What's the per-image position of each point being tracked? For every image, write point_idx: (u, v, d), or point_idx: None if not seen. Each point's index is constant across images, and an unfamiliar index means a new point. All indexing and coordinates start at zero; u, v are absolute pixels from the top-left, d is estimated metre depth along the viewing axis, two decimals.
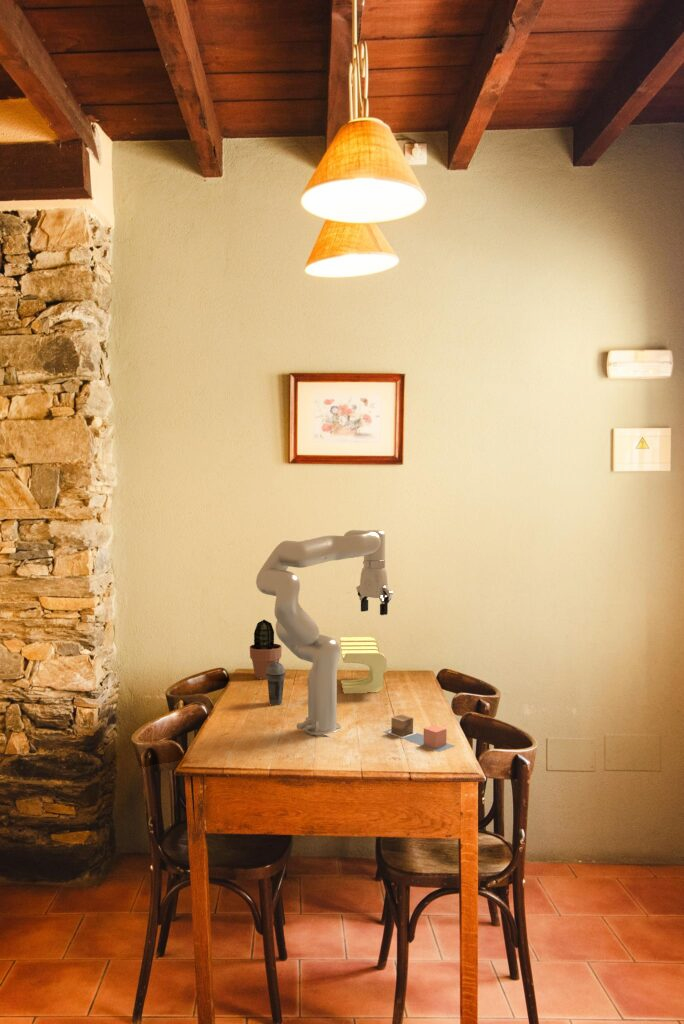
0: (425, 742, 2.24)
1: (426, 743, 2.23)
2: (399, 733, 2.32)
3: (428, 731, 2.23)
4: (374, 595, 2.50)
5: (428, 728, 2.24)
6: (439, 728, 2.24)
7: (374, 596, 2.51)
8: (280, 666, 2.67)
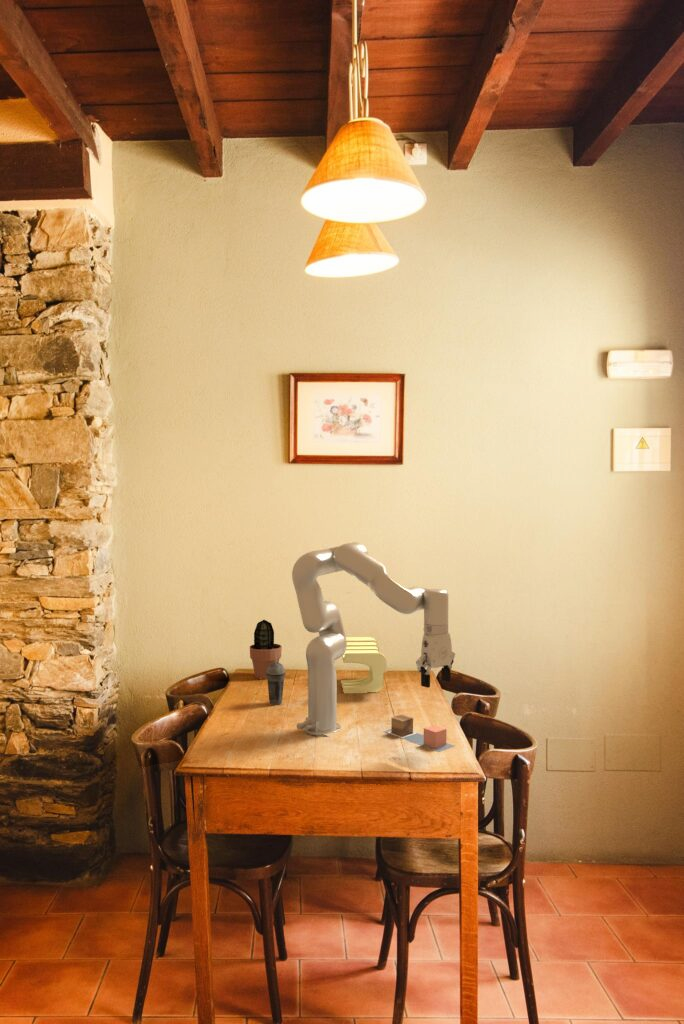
0: (425, 742, 2.24)
1: (426, 743, 2.23)
2: (399, 733, 2.32)
3: (428, 731, 2.23)
4: (449, 662, 2.23)
5: (428, 728, 2.24)
6: (439, 728, 2.24)
7: (448, 663, 2.23)
8: (280, 666, 2.67)
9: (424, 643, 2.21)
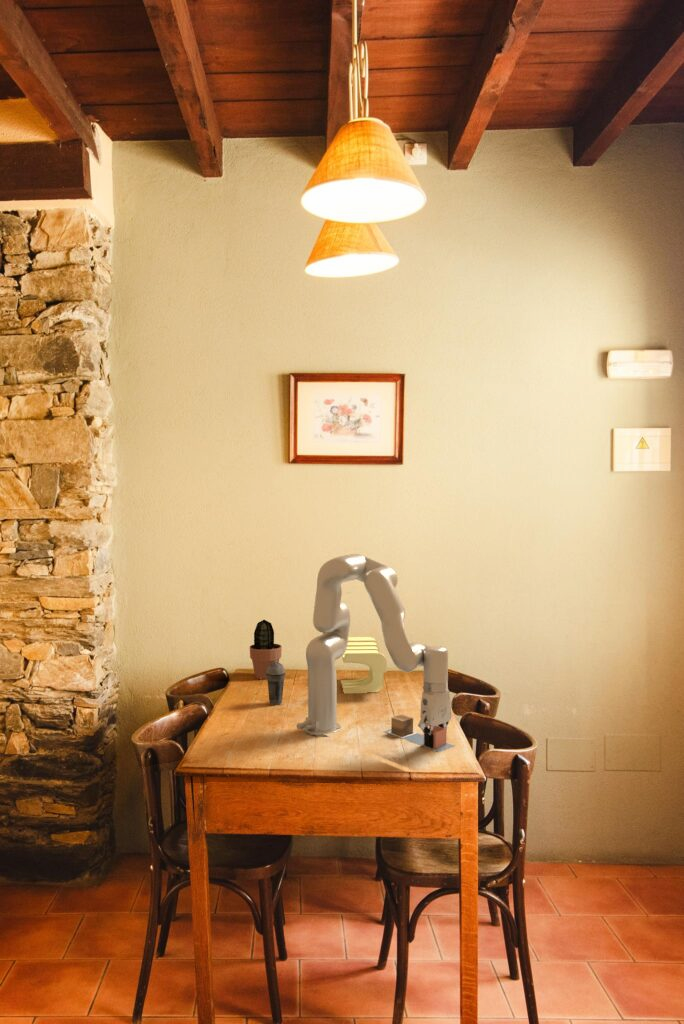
0: None
1: None
2: (399, 733, 2.32)
3: None
4: (448, 719, 2.24)
5: (428, 728, 2.24)
6: (439, 728, 2.24)
7: (448, 720, 2.24)
8: (280, 666, 2.67)
9: (423, 701, 2.22)
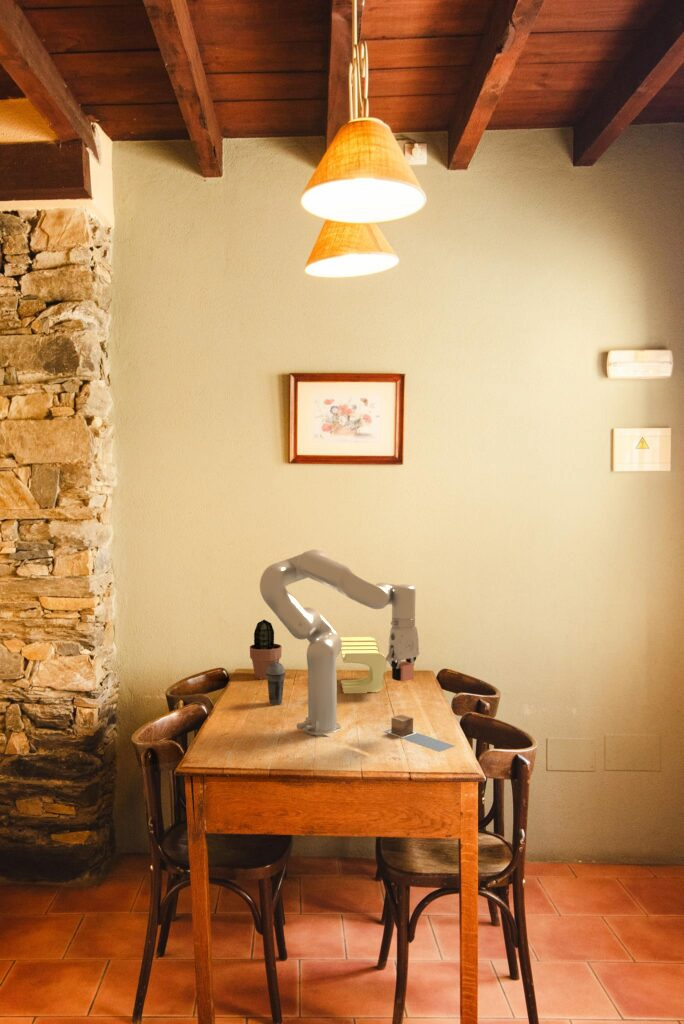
0: None
1: None
2: (399, 733, 2.32)
3: None
4: (415, 654, 2.34)
5: None
6: (407, 663, 2.34)
7: (415, 655, 2.34)
8: (280, 666, 2.67)
9: (391, 636, 2.31)
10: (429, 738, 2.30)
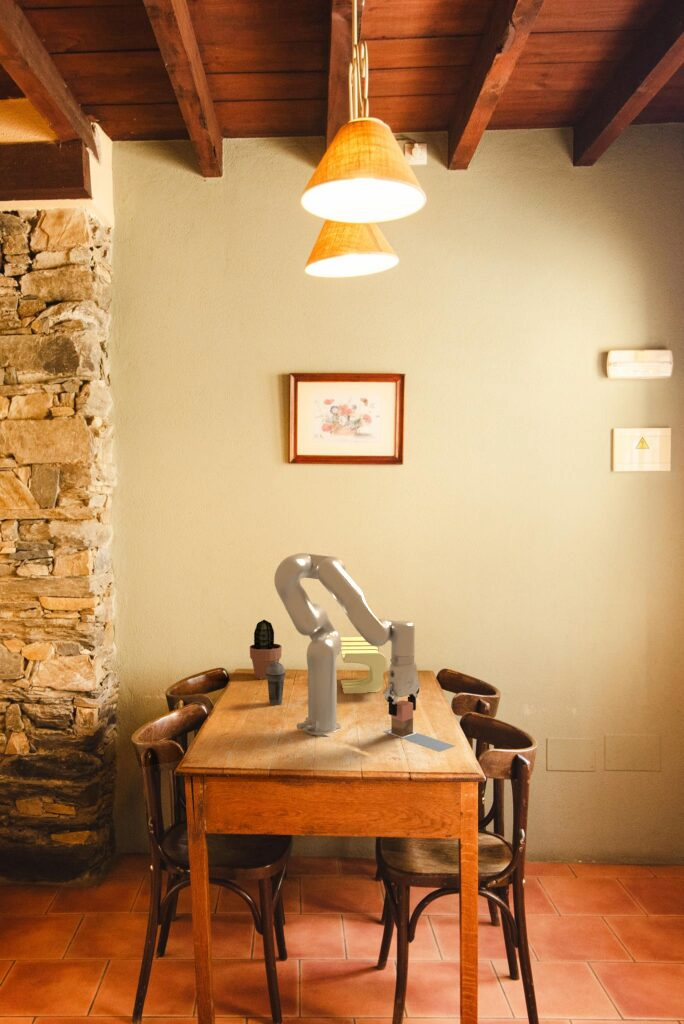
0: None
1: (393, 716, 2.34)
2: (399, 733, 2.32)
3: None
4: (415, 690, 2.34)
5: (396, 702, 2.34)
6: (406, 702, 2.34)
7: (414, 691, 2.34)
8: (280, 666, 2.67)
9: (391, 673, 2.32)
10: (429, 738, 2.30)
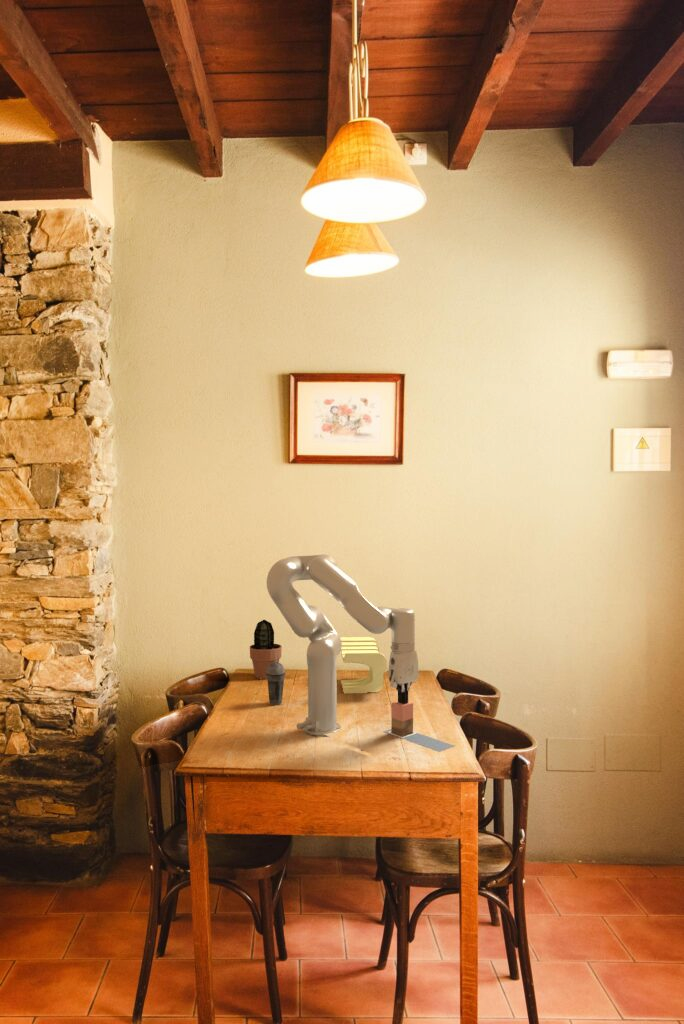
0: (393, 715, 2.34)
1: (393, 716, 2.34)
2: (399, 733, 2.32)
3: (395, 705, 2.33)
4: (415, 678, 2.34)
5: (396, 702, 2.34)
6: None
7: (415, 679, 2.34)
8: (280, 666, 2.67)
9: (391, 660, 2.32)
10: (429, 738, 2.30)
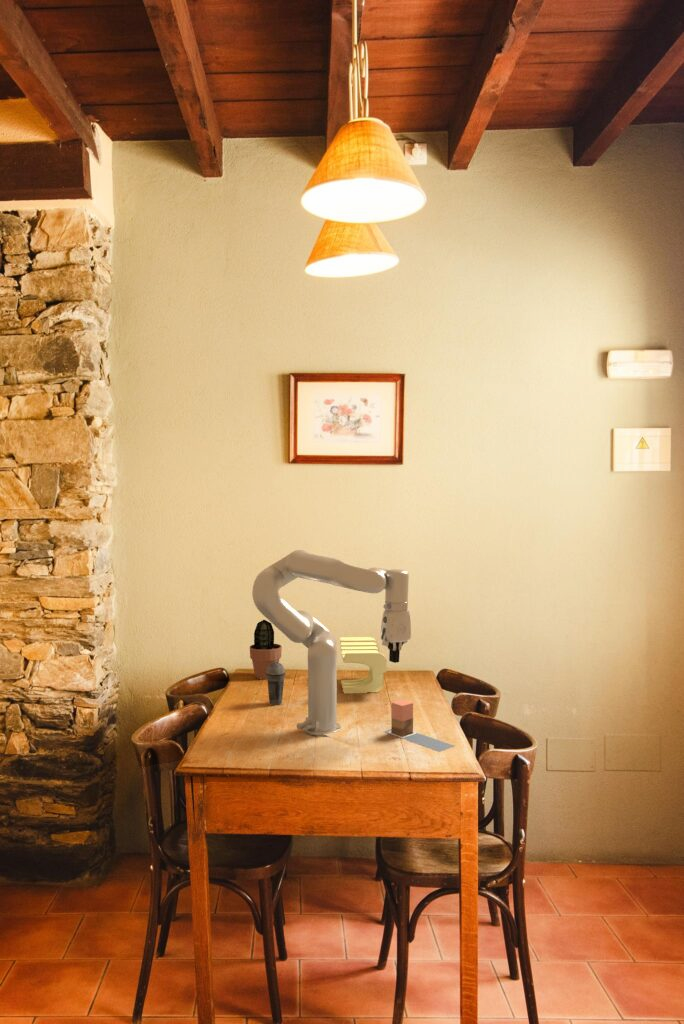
0: (393, 715, 2.34)
1: (393, 716, 2.34)
2: (399, 733, 2.32)
3: (395, 705, 2.33)
4: (407, 638, 2.38)
5: (396, 702, 2.34)
6: (406, 702, 2.34)
7: (407, 639, 2.38)
8: (280, 666, 2.67)
9: (384, 619, 2.36)
10: (429, 738, 2.30)
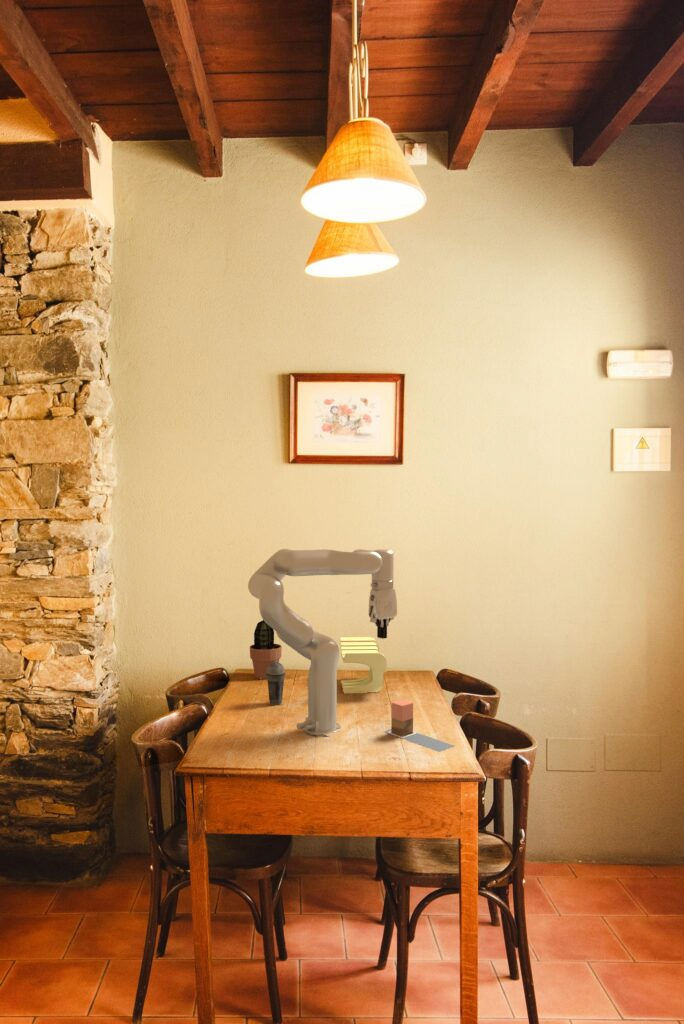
0: (393, 715, 2.34)
1: (393, 716, 2.34)
2: (399, 733, 2.32)
3: (395, 705, 2.33)
4: (394, 614, 2.49)
5: (396, 702, 2.34)
6: (406, 702, 2.34)
7: (393, 615, 2.49)
8: (280, 666, 2.67)
9: (371, 597, 2.47)
10: (429, 738, 2.30)
